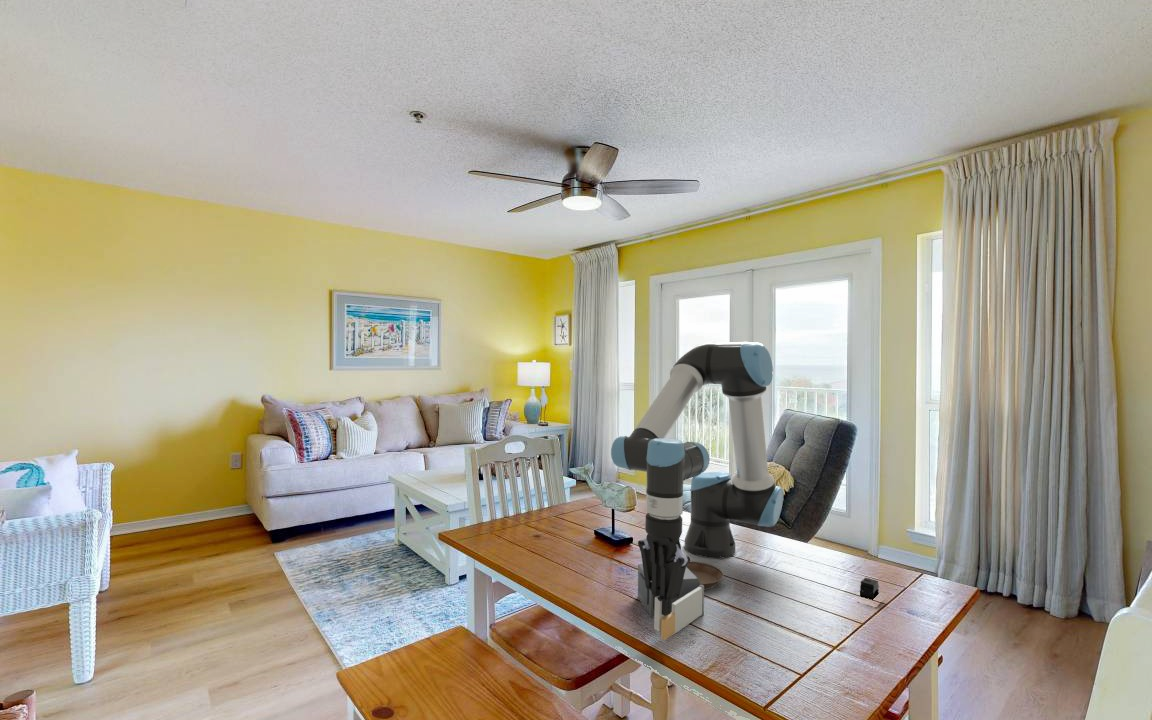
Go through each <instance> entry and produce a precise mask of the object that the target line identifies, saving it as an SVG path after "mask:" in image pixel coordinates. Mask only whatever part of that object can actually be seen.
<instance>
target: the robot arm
mask: <svg viewBox="0 0 1152 720" xmlns="http://www.w3.org/2000/svg"><path fill="white" fill-rule="evenodd" d="M773 372H774V368H773V362H772V357H771V354H770V352H769V350H768V349H767V348H766V346H765V345H764V344H762V343H760V342H749V341H737V342H736V341H735V342H734V341H730V342H706V343H703V344H700V345H697V346H695V347H693V348H692V349H690V350H689V351H687V352H686V353H685V354H684V355H682V356H681V357H680V358H678V360H677V361H676V363H674V365H673V366H672V368H671V369H670V371H669V378H668V380H667V382H666V383H665V384H664V386H663V387H662V388H661V390H660V392H659V393H658V395H657V396H656V397H655V399H654V401H653V402H652V404H651V405H650V407H649V408H648V410H646V412H645V414H644V415H643V417H642V418H641V419H640V421H639V422H638V424H637V426H636V427H635V428H634V430H633V431H632V433H631V434H630V435H629V436H627V435H624V436H619V437H616V438H615V439H614V441H613V442H612V444H611V448H610V456H611V459H612V463H613V464H614V465H615V466H616V467H618V468H622V469H626V470H629V471H639V472H646V489H645V490H646V491H645V492H646V495H645V498H646V499H645V500H646V501H645V511H646V512H647V513H646V515H645V524H644V525H645V526H644V528H645V529H644V530H645V532H646V537H645V538H643V539H640V540H638V541H637V545H638V547H639V551H640V554H641V562H642V563H641V564H643V571H644V578H645V585H646V588H647V589H650V590H651V591H652V595H653V610H655V613H654V617H653V619H654V620H653V628H654V630H656V631H657V632H661V619H662V618H664V617H665V616H667V615H669V614H670V612H671V600H673V599H676V598H678V597H679V595H680V591H681V587H682V582H683V578H684V574H685V569H686V566H687V564H688V563H689V562H691V557H690V555H685V554H684V552H683V551H682V545H681V541H680V540H681V539H680V538H681V536H682V534H683V517H682V515H683V513H684V510H683V507H684V506H683V505H684V503H683V501H684V481H685V480H688V479H691V481H690V482H691V484H690V490H689V491H690V523H689V525H688V529H687V532H686V534H685V538H684V549H685V550H686V551H687V552H688V553H691V554H693V555H695V556H699V557H703V558H709V557H710V558H711V559H723V558H722V557H724V558H729V557H732V556H734V555H735V554H736V542H735V538H734V536H733V535H734V534H733V533H732V529H731V525H730V523H731V521H735V522H742V523H746V524H751V525H757V527H768V528H771V527H774V526H775V525H776V524H777V522H778V521H779V518H780V516H781V513H782V509H783V508H782V507H783V503H784V490H783V488H782V487H781V486H779V485H776V482H775V477H774V476H773V475H772V474H770V473H769V469H768V468H769V467H768V466H769V465H768V458H767V457H768V456H767V455H768V454H767V445H766V435H765V434H766V433H765V425H764V424H765V423H764V415H763V414H764V412H763V403H762V402H763V401H762V400H763V399H762V396H763V394H765V392H766V391H767V387H768V386H770V385H771V384H772V381H773ZM705 385H721V392H722V394H723V395H724V396H726V397H727V398H728V404H729V413H730V422H731V423H730V424H731V431H732V432H731V434H732V441H733V451H734V460H735V471H736V474H735V475H734V476H733V477H731V474H730V473H729V472H728V473H727V472H723V471H712V472H705V471H706V470H707V469H708V468H709V466H710V454H709V451H708V449H707V448H706V447H705V445H704V444H702V443H700V442H696V441H686V442H683V441H682V440H680V439H678V438H671V437H670V438H667V437H668V435H669V434H670V432H671V430H672V428H673V427H674V425H675V424H676V423H677V421H678V419H679V417H680V416H681V414H682V413H683V412H684V409H685V408H686V406H687V405H688V403H689V401H690V399H691V398H692V396H693V395H694V394H695V393H697V392H699V391H701V389H702V387H703V386H705ZM730 520H731V521H730ZM734 553H735V554H734ZM733 554H734V555H733ZM731 555H732V556H731ZM728 556H729V557H728ZM650 581H652V582H650Z"/></svg>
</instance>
